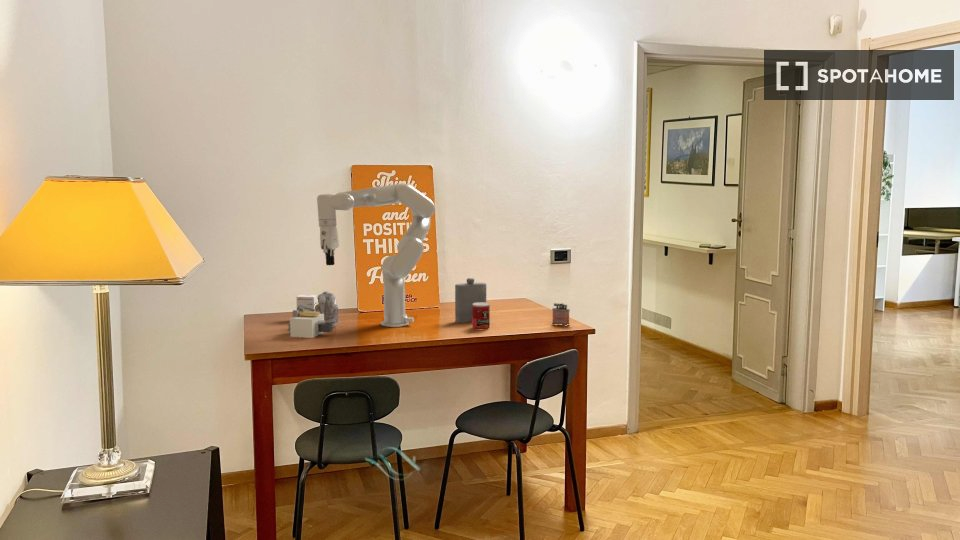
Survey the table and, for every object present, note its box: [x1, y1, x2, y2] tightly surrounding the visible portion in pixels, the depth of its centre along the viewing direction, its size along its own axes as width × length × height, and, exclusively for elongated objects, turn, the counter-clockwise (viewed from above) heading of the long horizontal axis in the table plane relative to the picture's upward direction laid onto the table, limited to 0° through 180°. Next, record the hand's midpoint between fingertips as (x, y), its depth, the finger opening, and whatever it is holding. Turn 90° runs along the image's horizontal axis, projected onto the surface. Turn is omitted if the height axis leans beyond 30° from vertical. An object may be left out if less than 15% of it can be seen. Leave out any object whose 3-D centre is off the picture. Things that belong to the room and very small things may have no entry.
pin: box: [287, 320, 333, 335], centre depth 319 cm, size 19×6×5 cm, turn 78°
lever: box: [298, 310, 320, 316], centre depth 319 cm, size 10×4×2 cm, turn 78°
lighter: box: [551, 302, 571, 325], centre depth 338 cm, size 8×3×10 cm, turn 65°
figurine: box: [315, 291, 339, 329], centre depth 336 cm, size 10×11×15 cm
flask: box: [454, 277, 487, 324], centre depth 346 cm, size 15×6×20 cm, turn 109°
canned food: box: [471, 302, 491, 330], centre depth 332 cm, size 8×8×11 cm
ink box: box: [296, 294, 318, 311], centre depth 348 cm, size 9×5×12 cm, turn 84°
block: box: [289, 308, 324, 339], centre depth 319 cm, size 10×12×11 cm
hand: (330, 264), depth 325 cm, fingers closed
